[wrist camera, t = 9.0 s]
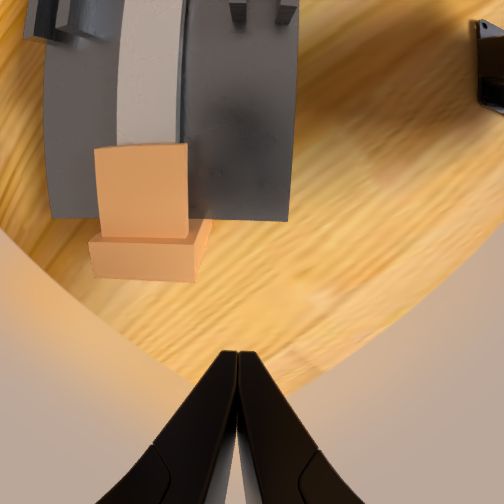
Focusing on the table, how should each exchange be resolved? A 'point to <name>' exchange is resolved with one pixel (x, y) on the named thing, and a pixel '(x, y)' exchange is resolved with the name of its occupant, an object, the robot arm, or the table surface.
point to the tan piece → (146, 215)
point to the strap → (150, 72)
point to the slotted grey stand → (191, 102)
